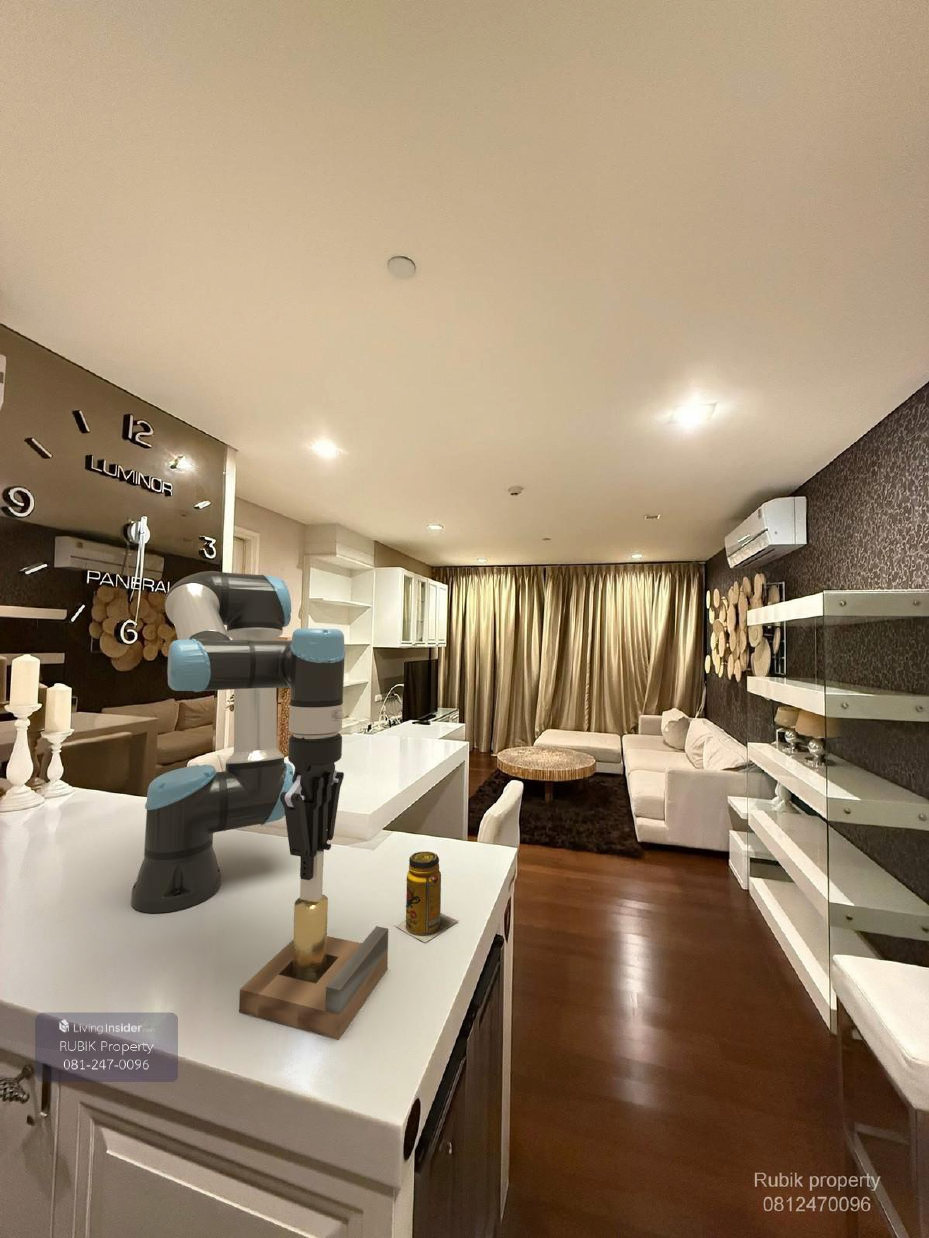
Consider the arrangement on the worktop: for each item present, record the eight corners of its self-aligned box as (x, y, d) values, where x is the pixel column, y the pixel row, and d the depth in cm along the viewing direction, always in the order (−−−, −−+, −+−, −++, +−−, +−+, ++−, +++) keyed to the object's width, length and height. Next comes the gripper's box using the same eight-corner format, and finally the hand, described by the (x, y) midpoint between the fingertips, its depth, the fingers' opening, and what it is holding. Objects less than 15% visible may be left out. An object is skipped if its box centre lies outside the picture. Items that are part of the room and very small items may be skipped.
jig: (239, 1012, 66) (240, 965, 66) (301, 949, 80) (302, 911, 80) (338, 1039, 62) (340, 989, 62) (387, 968, 75) (388, 928, 76)
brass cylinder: (285, 994, 70) (287, 906, 70) (304, 973, 74) (306, 891, 75) (313, 1001, 68) (316, 912, 69) (331, 979, 73) (334, 896, 73)
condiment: (395, 927, 86) (396, 856, 87) (429, 907, 93) (430, 842, 93) (424, 944, 82) (426, 869, 82) (458, 922, 88) (459, 853, 89)
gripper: (312, 744, 65) (307, 927, 65) (360, 727, 78) (356, 881, 77) (264, 740, 68) (258, 917, 67) (318, 724, 80) (314, 873, 79)
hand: (311, 897), depth 72 cm, fingers closed
